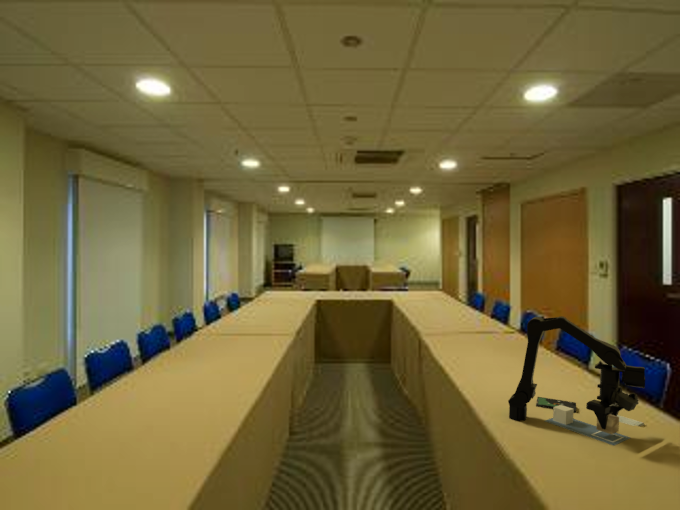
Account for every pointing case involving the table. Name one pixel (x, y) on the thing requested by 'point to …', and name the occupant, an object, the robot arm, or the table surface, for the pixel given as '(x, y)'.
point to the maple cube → (610, 425)
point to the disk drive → (554, 403)
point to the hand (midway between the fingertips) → (607, 427)
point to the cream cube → (563, 414)
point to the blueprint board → (591, 431)
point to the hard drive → (629, 421)
